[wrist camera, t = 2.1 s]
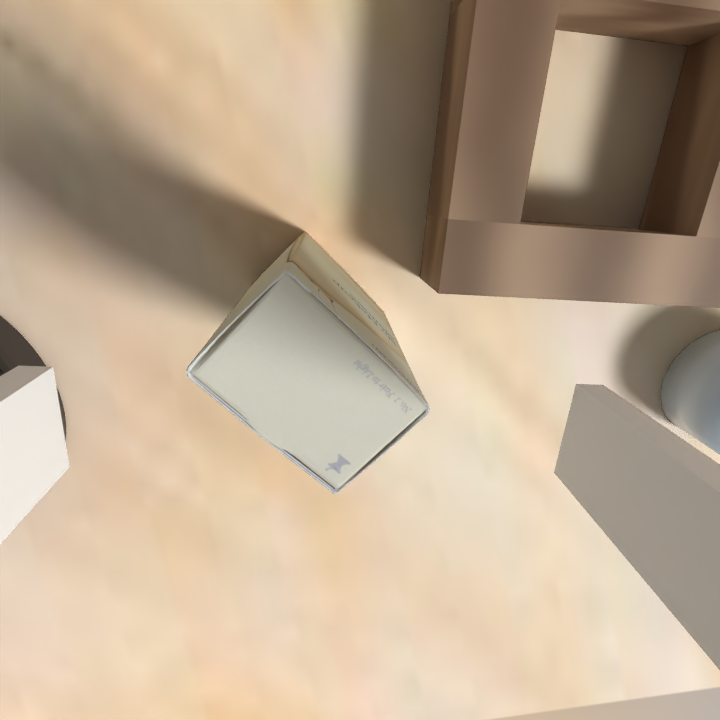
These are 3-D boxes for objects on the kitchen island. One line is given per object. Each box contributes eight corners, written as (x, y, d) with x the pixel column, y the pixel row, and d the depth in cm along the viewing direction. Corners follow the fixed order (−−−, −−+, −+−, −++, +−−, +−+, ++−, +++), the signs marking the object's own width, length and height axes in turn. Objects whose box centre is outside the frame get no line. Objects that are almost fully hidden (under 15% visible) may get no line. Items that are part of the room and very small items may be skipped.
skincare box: (385, 311, 25) (443, 411, 14) (328, 366, 26) (339, 502, 15) (301, 226, 23) (290, 261, 12) (242, 287, 24) (179, 375, 13)
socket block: (419, 277, 25) (438, 293, 21) (460, -74, 20) (494, -136, 16) (675, 291, 26) (735, 308, 23) (774, -29, 21) (871, -75, 18)
